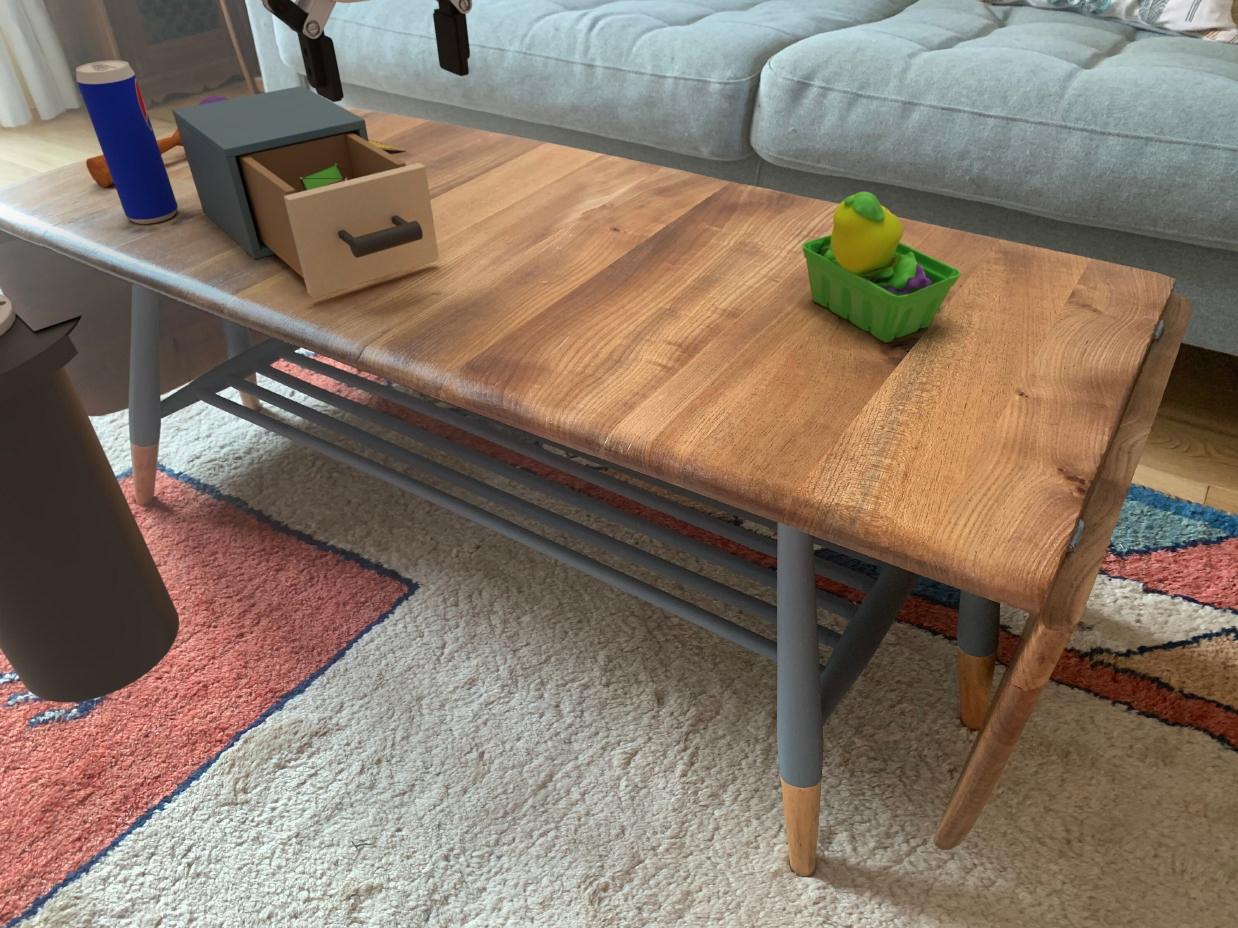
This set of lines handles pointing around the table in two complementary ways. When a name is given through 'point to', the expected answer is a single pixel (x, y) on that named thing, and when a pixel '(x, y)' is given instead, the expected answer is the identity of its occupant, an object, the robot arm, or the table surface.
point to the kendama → (101, 170)
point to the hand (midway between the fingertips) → (394, 84)
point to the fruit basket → (875, 272)
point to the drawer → (340, 211)
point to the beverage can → (127, 140)
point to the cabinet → (251, 148)
